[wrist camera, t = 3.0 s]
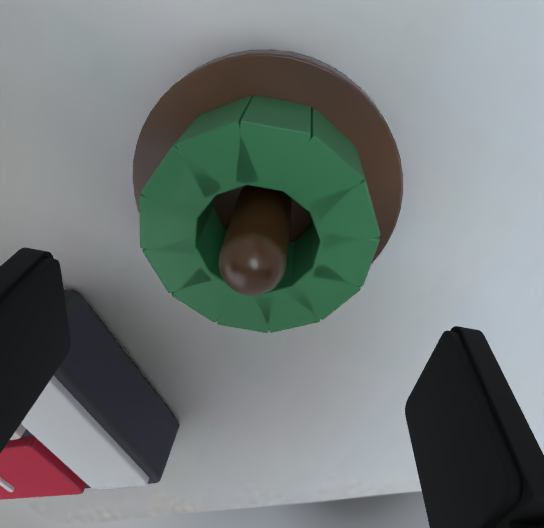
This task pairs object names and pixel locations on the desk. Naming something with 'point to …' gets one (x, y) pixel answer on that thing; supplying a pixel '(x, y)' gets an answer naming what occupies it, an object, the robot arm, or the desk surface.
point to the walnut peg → (262, 201)
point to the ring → (267, 174)
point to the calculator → (89, 421)
